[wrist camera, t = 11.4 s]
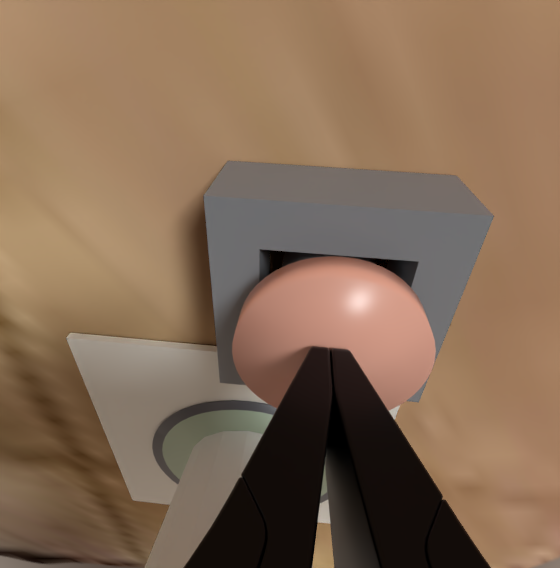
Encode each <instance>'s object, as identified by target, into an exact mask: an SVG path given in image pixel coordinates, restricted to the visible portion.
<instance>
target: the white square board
mask: <svg viewBox="0 0 560 568" xmlns="http://www.w3.org/2000/svg"><path fill="white" fill-rule="evenodd" d="M66 339H67V342H68V344H69V346H70V349H71V351H72V354H73V356H74V359H75V361H76V364H77V366H78V368H79V371H80V373H81V376H82V378H83V381H84V383H85V385H86V388H87V390H88V393H89V395H90V398H91V400H92V403H93V405H94V407H95V410H96V412H97V415H98V417H99V420H100V422H101V425H102V427H103V429H104V432H105V434H106V437H107V439H108V442H109V444H110V446H111V449H112V451H113V454H114V456H115V459H116V461H117V464H118V466H119V468H120V471H121V473H122V476H123V478H124V481H125V483H126V485H127V488H128V490H129V493H130V495H131V498H132V500H133V501H141V502H149V503H158V504H167V505H170V503H171V501H172V499H173V496H174V494H175V491H176V489H177V486H178V484H179V481H180V479H181V476H182V474H183V471H184V469H185V467H186V464H187V462H188V459H189V457H190V454H191V452H192V449H193V447H194V446H195V445H196V444H197V443H198V442H199V441H201V440H202V439H203V438H204V437H206V436H209V435H212V434H216V433H219V432H222V431H251V432H256V433H260V434H263V433H264V432H265V430H266V428H267V426H268V424H269V422H270V421H271V419H272V417H273V415H274V413H275V411H276V410H277V408H275V407H273V406H271V405H269V404H268V403H266V402H265V401H263V400H262V399H260V398H259V397H258V396H257V395H255V394H254V393H253V392H252V391H251V390H250V389H249V388H248V387H247V386H246V385H237V384H227V383H220V378H219V366H218V355H217V346H210V345H199V344H188V343H177V342H166V341H155V340H145V339H134V338H123V337H112V336H101V335H90V334H79V333H70V334H69V335H68V336H67V337H66ZM399 406H400V405H399ZM399 406H397V407H395V408H393V409H391V410H389V412H390V414H391V415H392V417H393V419H394V420H395V417H396V414H397V412H398V409H399ZM318 522H321V523H330V514H329V503H328V492H327V481H326V470H325V466H324V474H323V482H322V490H321V498H320V506H319V514H318Z"/></svg>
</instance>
